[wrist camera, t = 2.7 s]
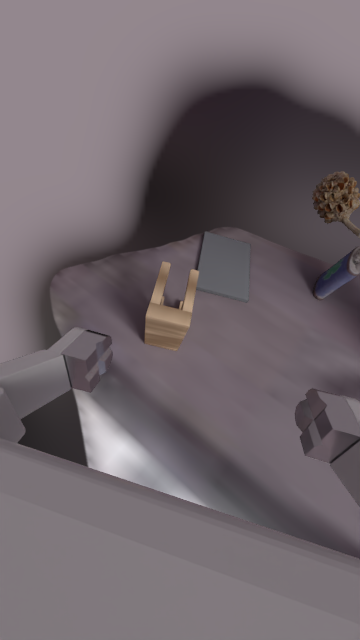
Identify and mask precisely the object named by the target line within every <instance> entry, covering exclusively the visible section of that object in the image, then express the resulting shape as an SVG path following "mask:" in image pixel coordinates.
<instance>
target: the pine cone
mask: <svg viewBox="0 0 360 640" xmlns="http://www.w3.org/2000/svg"><path fill="white" fill-rule="evenodd" d="M356 183H357V181H354V178H353V177H352V178H349V176H348V174H345V172H343V171H342V172H340V173H339V172H335V173H334V174H333V175H332V174H329V175H328V177H325V178H324V179H322V181H321V183H320V184H318V185H316V189H315V190H314V191H313V198H312V199H313V200H315V201H314V203H313V204H314V209H316V210H317V209H318V214H320V217H321V218H325V223H331V222H333V221H339V222H342V223H344V224H345V226H347V228H348V229H350V230H351V231H352V232H353V233H354V234H356V235H357V236H358V237H359V238H360V229H359V228H357V227H356V226H355V225H353V224H352V223H351V221H349V216H350V214H351V213H352V212H353V211H354V210H355V209H357V208H358V206H359V204H360V202H359V200H358V198H359V196H360V194H359V193H358V190H359V189H358V188H355V186H356Z"/></svg>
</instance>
